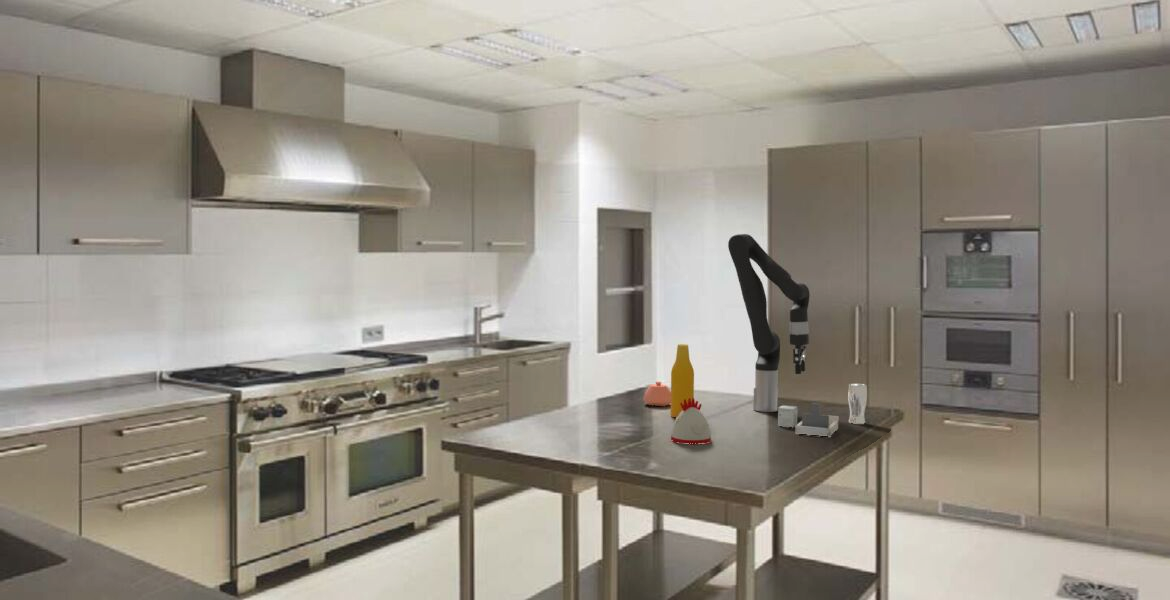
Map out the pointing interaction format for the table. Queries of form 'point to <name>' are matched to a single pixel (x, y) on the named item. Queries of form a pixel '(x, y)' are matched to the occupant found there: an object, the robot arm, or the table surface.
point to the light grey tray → (819, 431)
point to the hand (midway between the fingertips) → (800, 372)
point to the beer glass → (857, 402)
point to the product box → (787, 416)
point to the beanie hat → (691, 425)
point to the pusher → (815, 417)
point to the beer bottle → (681, 380)
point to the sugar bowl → (658, 395)
